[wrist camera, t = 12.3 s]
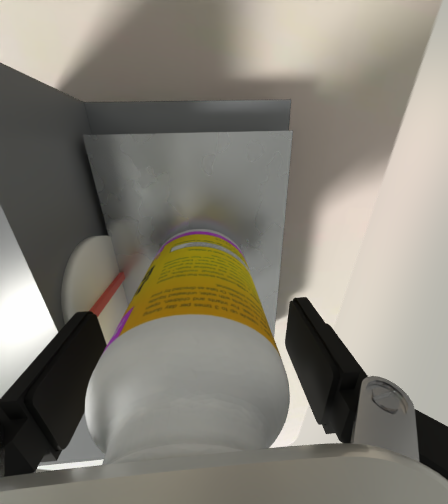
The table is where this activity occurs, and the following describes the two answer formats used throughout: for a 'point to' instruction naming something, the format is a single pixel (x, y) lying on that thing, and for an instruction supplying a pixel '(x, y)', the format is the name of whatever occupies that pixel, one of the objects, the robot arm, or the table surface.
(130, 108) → the scale
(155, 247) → the pan
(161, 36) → the table surface
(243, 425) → the supplement bottle
